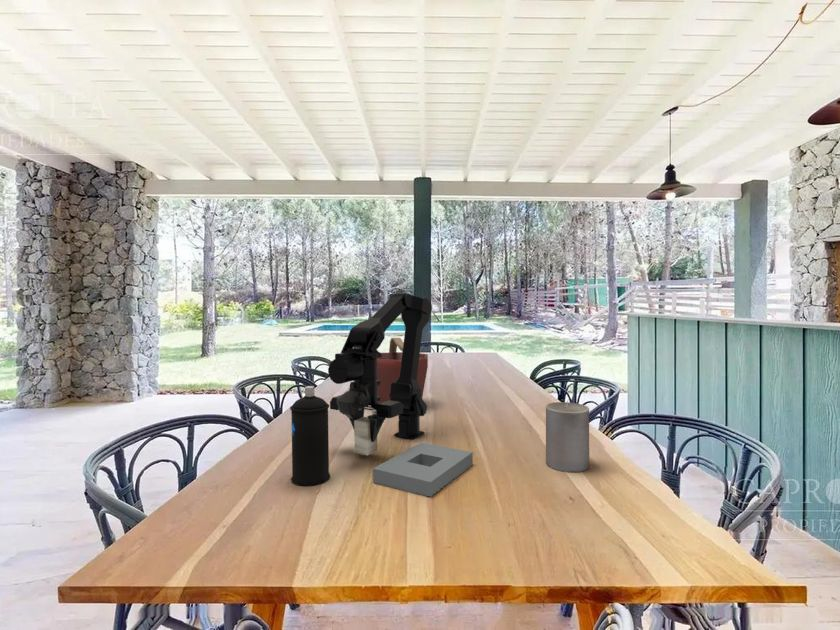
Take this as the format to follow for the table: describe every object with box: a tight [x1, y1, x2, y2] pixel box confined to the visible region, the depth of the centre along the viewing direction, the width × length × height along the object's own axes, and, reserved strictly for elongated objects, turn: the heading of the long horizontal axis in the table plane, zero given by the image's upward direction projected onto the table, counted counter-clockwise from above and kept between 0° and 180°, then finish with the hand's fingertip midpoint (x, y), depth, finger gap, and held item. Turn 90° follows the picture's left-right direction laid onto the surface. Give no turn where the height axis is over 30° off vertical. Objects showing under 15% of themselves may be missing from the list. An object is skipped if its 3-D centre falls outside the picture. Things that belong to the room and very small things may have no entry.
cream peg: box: [353, 416, 378, 456], centre depth 111 cm, size 4×4×8 cm
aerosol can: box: [289, 385, 331, 487], centre depth 98 cm, size 8×8×20 cm
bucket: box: [377, 337, 429, 403], centre depth 160 cm, size 24×22×25 cm
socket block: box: [372, 442, 474, 498], centre depth 101 cm, size 20×14×3 cm
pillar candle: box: [545, 400, 590, 473], centre depth 105 cm, size 10×10×15 cm
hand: (366, 440), depth 111 cm, fingers closed on cream peg, 4 cm apart
